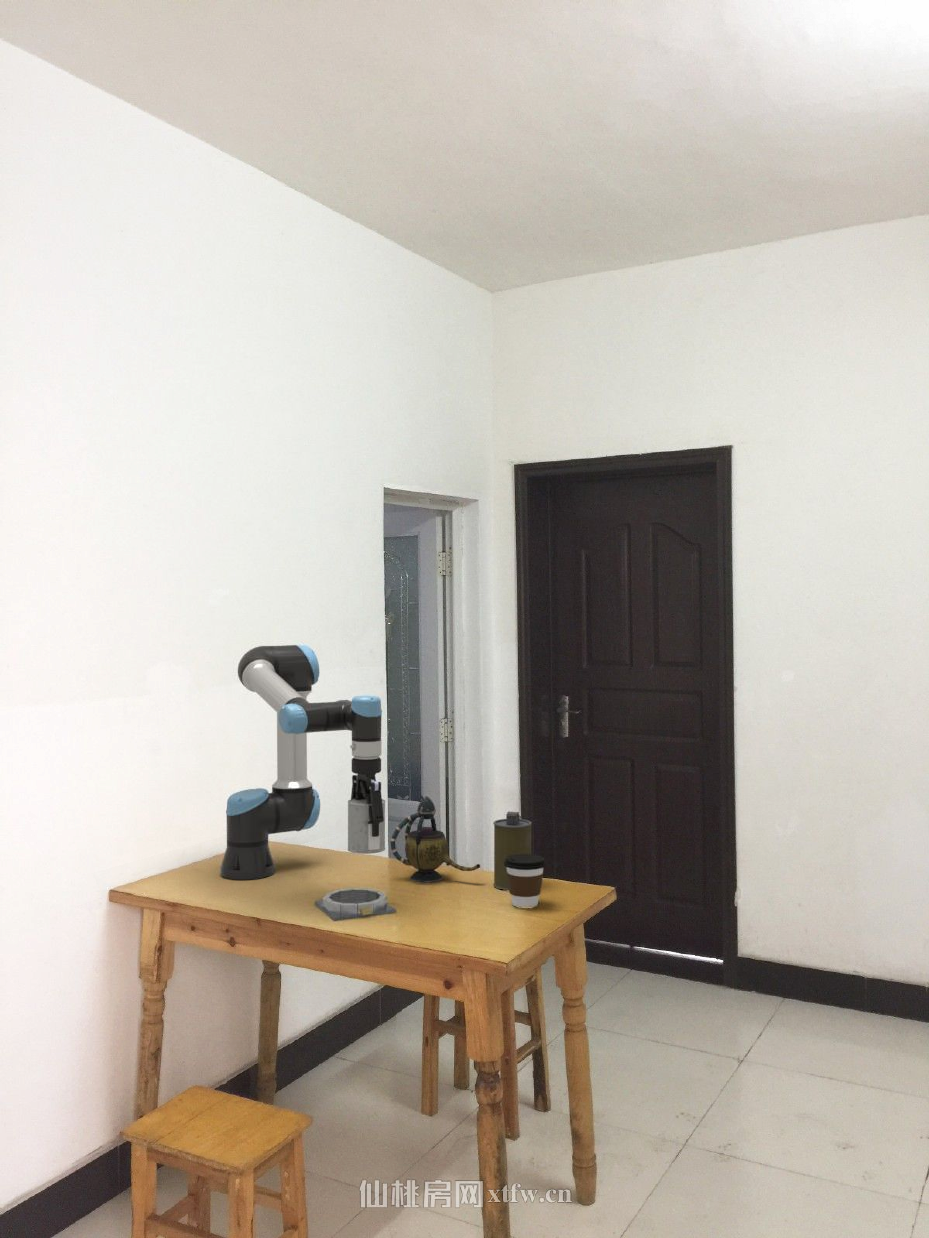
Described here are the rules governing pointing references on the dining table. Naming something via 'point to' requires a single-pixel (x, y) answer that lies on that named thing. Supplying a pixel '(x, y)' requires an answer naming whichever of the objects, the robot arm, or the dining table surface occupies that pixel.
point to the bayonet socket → (354, 903)
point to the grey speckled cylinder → (362, 827)
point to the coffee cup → (524, 878)
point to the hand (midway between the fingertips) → (366, 844)
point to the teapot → (425, 846)
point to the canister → (509, 844)
